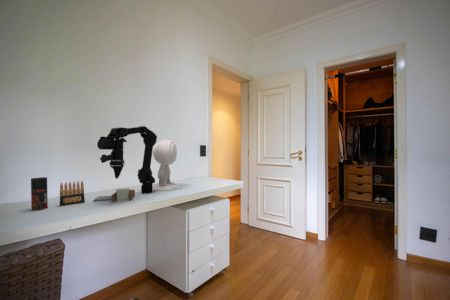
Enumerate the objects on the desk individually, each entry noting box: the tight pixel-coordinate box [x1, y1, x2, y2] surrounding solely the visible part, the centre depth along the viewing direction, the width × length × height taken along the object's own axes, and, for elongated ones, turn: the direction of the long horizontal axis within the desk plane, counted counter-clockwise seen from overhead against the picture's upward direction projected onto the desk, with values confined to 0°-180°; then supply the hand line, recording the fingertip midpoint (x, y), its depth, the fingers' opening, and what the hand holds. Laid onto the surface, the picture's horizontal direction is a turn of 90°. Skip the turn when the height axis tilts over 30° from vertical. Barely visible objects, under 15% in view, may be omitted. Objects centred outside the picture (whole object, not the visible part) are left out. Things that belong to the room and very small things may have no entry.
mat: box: [92, 195, 112, 202], centre depth 122 cm, size 9×9×1 cm
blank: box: [116, 187, 130, 202], centre depth 121 cm, size 6×4×6 cm, turn 106°
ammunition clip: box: [59, 180, 86, 207], centre depth 111 cm, size 11×2×12 cm, turn 132°
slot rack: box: [110, 189, 136, 203], centre depth 123 cm, size 10×14×4 cm
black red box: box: [30, 176, 49, 211], centre depth 103 cm, size 6×6×15 cm
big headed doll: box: [152, 139, 181, 192], centre depth 154 cm, size 20×23×35 cm
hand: (117, 177), depth 119 cm, fingers open, 9 cm apart
